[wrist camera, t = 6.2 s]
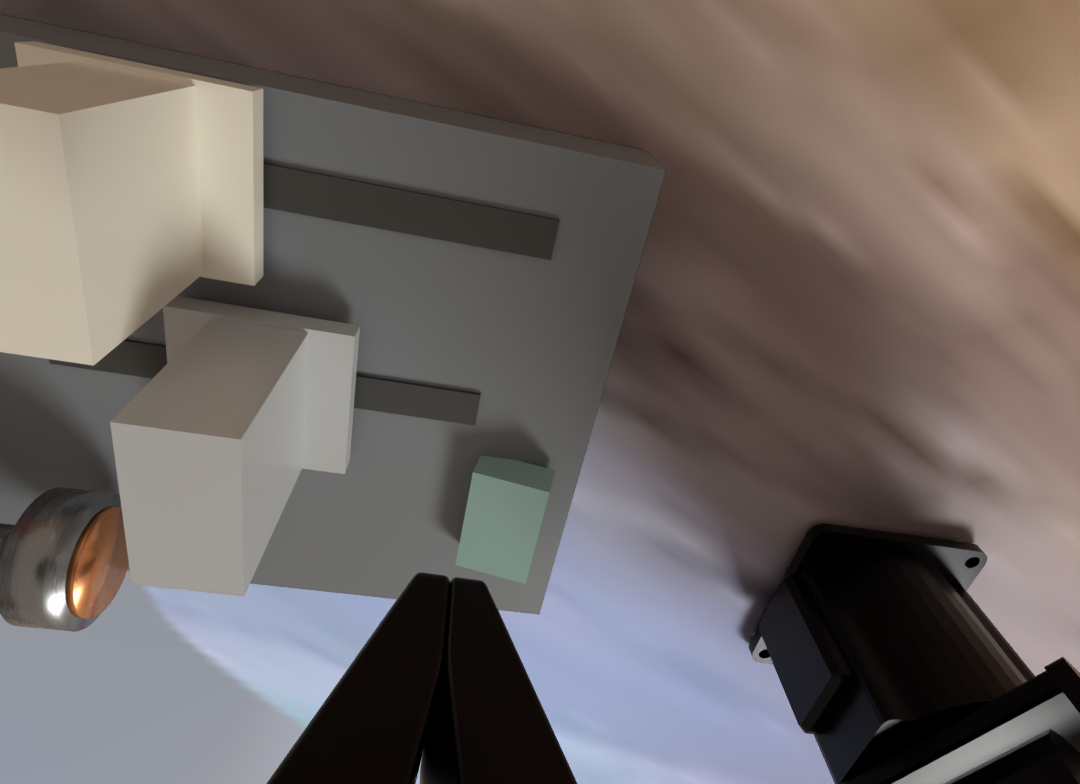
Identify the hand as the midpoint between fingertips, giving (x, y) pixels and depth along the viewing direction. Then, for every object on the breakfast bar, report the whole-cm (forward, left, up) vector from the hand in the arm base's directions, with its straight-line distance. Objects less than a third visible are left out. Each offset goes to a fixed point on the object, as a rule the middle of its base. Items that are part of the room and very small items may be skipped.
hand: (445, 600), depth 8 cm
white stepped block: (+5, +2, -8) cm, 10 cm away
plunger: (+11, +7, -8) cm, 15 cm away
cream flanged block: (+7, -2, -8) cm, 11 cm away
